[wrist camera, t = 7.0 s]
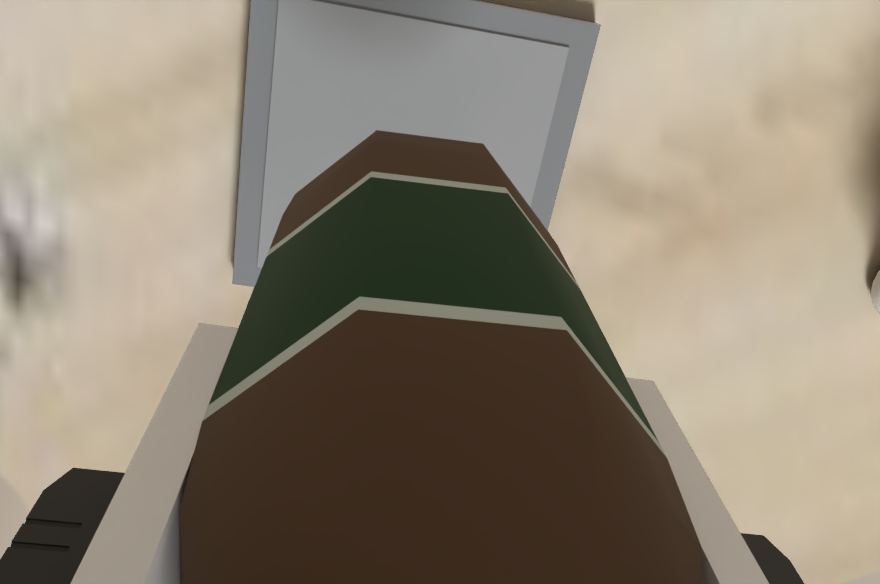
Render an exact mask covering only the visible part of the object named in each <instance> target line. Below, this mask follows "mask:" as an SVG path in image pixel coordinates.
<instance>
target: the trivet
mask: <svg viewBox="0 0 880 584" xmlns="http://www.w3.org/2000/svg"><path fill="white" fill-rule="evenodd" d="M600 26H601V25H600V24H598V23H595V22H590V21H585V20H580V19H574V18H569V17H564V16H558V15H553V14H548V13H543V12H537V11H532V10H527V9H522V8H516V7H511V6H506V5H501V4H495V3H490V2H485V1H479V0H251V6H250V21H249V37H248V52H247V67H246V83H245V98H244V113H243V129H242V144H241V159H240V175H239V190H238V205H237V221H236V236H235V251H234V267H233V282H232V284H237V285H245V286H252V287H255V285H256V282H257V279H258V277H259V274H260V272H261V269H262V267H263V264H264V261H265V259H266V256H267V254H268V251H269V249H270V246H271V244H272V241H273V238H274V236H275V233H276V231H277V228H278V226H279V223H280V221H281V218H282V215H283V213H284V212H285V210H286V208H287V207H288V205H289V203H290V202H291V200H292V198H293V196H294V195H295V194H296V193H297V192H298V191H299V190H301V189H302V188H303V187H305V186H306V185H307V184H308V183H310V182H311V181H312V180H314V179H315V178H316V177H317V176H319V175H320V174H321V173H322V172H324V171H325V170H326V169H328V168H329V167H330V166H331V165H333V164H334V163H335V162H337V161H338V160H339V159H340V158H342V157H343V156H344V155H346V154H347V153H348V152H349V151H351V150H352V149H353V148H355V147H356V146H357V145H358V144H360V143H361V142H362V141H364V140H365V139H366V138H367V137H369V136H370V135H371V134H372V133H374V132H375V131H376V130H380V131H387V132H395V133H403V134H411V135H419V136H427V137H435V138H443V139H451V140H458V141H466V142H474V143H482V144H484V145H485V147H486V148H487V149H488V151H489V152H490V153H491V155H492V156H493V157H494V159H495V160H496V162H497V163H498V164H499V166H500V167H501V168H502V170H503V171H504V172H505V174H506V175H507V176H508V178H509V179H510V180H511V182H512V183H513V184H514V186H515V187H516V189H517V190H518V191H519V193H520V194H521V195H522V197H523V198H524V199H525V201H526V202H527V203H528V205H529V206H530V207H531V209H532V210H533V212H534V213H535V214H536V216H537V217H538V218H539V220H540V221H541V222H542V224H543V225H544V227H545V228H546V230H547V231H548V227H549V223H550V219H551V215H552V211H553V207H554V203H555V200H556V196H557V192H558V188H559V184H560V180H561V176H562V173H563V169H564V165H565V161H566V157H567V153H568V149H569V145H570V142H571V138H572V134H573V130H574V126H575V122H576V118H577V115H578V111H579V107H580V103H581V99H582V95H583V91H584V88H585V84H586V80H587V76H588V72H589V68H590V64H591V60H592V57H593V53H594V49H595V45H596V41H597V37H598V33H599V30H600Z"/></svg>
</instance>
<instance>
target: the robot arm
mask: <svg viewBox="0 0 880 584" xmlns="http://www.w3.org/2000/svg"><path fill="white" fill-rule="evenodd" d="M237 331H238V328H233V327H225V326H217V325H209V324H202V323H199V325H198V327H197V329H196V331H195V333H194V335H193V337H192V339H191V341H190V343H189V345H188V347H187V349H186V351H185V353H184V355H183V357H182V359H181V361H180V363H179V365H178V367H177V369H176V371H175V373H174V375H173V377H172V379H171V381H170V383H169V385H168V387H167V389H166V391H165V393H164V396H163V398H162V400H161V402H160V404H159V406H158V408H157V410H156V412H155V414H154V416H153V418H152V420H151V422H150V424H149V426H148V428H147V430H146V432H145V434H144V436H143V438H142V440H141V442H140V444H139V446H138V448H137V450H136V452H135V454H134V456H133V458H132V460H131V462H130V464H129V466H128V468H127V470H126V472H125V473H119V472H109V471H99V470H89V469H79V468H72V469H71V470H70V471H68V472H67V473H66V474H64V475H63V476H62V477H61V478H59V479H58V480H57V481H55V482H54V483H53V484H51V485H50V486H49V487H47V488H46V489H45V490H44V491H43V492H42V494H41V495H40V497H39V499H38V500H37V502H36V503H35V505H34V507H33V508H32V510H31V511H30V513H29V515H28V516H27V518H26V522H25V524H22V526H21V527H20V529H19V531H18V532H17V534H16V535H15V537H14V539H13V540H12V544H11V547H8V548H7V550H6V551H5V553H4V555H3V556H2V558H1V559H0V584H180V537H179V510H180V506H181V502H182V498H183V494H184V490H185V486H186V483H187V479H188V475H189V471H190V467H191V463H192V459H193V455H194V451H195V447H196V443H197V439H198V435H199V432H200V428H201V424H202V420H203V418H204V415H205V413H206V410H207V407H208V405H209V402H210V400H211V397H212V395H213V392H214V390H215V387H216V384H217V382H218V379H219V377H220V374H221V372H222V369H223V367H224V364H225V361H226V359H227V356H228V354H229V351H230V349H231V346H232V343H233V341H234V338H235V336H236V333H237ZM626 379H627V381H628V383H629V385H630V387H631V389H632V391H633V393H634V395H635V397H636V399H637V401H638V403H639V405H640V406H641V408H642V410H643V412H644V414H645V416H646V418H647V420H648V422H649V424H650V426H651V428H652V430H653V432H654V434H655V436H656V437H657V439H658V441H659V443H660V445H661V447H662V449H663V451H664V453H665V455H666V457H667V459H668V461H669V464H670V467H671V469H672V472H673V474H674V477H675V480H676V482H677V485H678V487H679V490H680V493H681V495H682V498H683V500H684V503H685V505H686V508H687V511H688V513H689V516H690V518H691V521H692V524H693V526H694V529H695V531H696V534H697V537H698V539H699V542H700V544H701V551H702V584H804V583H803V581H802V579H801V578H800V576H799V574H798V573H797V571H796V570H795V568H794V566H793V565H792V563H791V562H790V560H789V559H788V558H787V557H786V556H784V555H783V554H782V553H781V552H780V551H779V550H778V549H777V548H776V547H775V546H774V545H773V544H772V543H771V542H770V541H769V540H768V539H767V538H765V537H764V536H762V535H753V534H743V533H740V532H739V530H738V528H737V526H736V525H735V523H734V521H733V519H732V518H731V516H730V514H729V512H728V511H727V509H726V507H725V505H724V504H723V502H722V500H721V498H720V497H719V495H718V493H717V491H716V490H715V488H714V486H713V484H712V483H711V481H710V479H709V477H708V476H707V474H706V472H705V470H704V469H703V467H702V465H701V463H700V462H699V460H698V458H697V456H696V455H695V453H694V451H693V449H692V448H691V446H690V444H689V442H688V441H687V439H686V437H685V435H684V434H683V432H682V430H681V428H680V427H679V425H678V423H677V421H676V420H675V418H674V416H673V414H672V413H671V411H670V409H669V407H668V406H667V404H666V402H665V400H664V399H663V397H662V395H661V393H660V392H659V390H658V388H657V386H656V385H655V383H654V381H650V380H642V379H634V378H626Z"/></svg>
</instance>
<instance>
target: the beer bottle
mask: <svg viewBox="0 0 880 584" xmlns="http://www.w3.org/2000/svg"><path fill="white" fill-rule="evenodd" d="M179 537H180V584H702V551H701V544H700V542H699V539H698V537H697V534H696V531H695V529H694V526H693V524H692V521H691V518H690V516H689V513H688V511H687V508H686V505H685V503H684V500H683V498H682V495H681V493H680V490H679V487H678V485H677V482H676V480H675V477H674V474H673V472H672V469H671V467H670V464H669V461H668V459H667V457H666V455H665V453H664V451H663V449H662V447H661V445H660V443H659V441H658V439H657V437H656V436H655V434H654V432H653V430H652V428H651V426H650V424H649V422H648V420H647V418H646V416H645V414H644V412H643V410H642V408H641V406H640V405H639V403H638V401H637V399H636V397H635V395H634V393H633V391H632V389H631V387H630V385H629V383H628V381H627V379H626V377H625V375H624V373H623V372H622V370H621V368H620V366H619V364H618V362H617V360H616V358H615V356H614V354H613V352H612V350H611V348H610V346H609V344H608V342H607V341H606V339H605V337H604V335H603V333H602V331H601V329H600V327H599V325H598V323H597V321H596V319H595V317H594V315H593V313H592V311H591V309H590V308H589V306H588V304H587V302H586V300H585V298H584V296H583V294H582V292H581V290H580V288H579V286H578V284H577V282H576V280H575V278H574V277H573V275H572V273H571V271H570V269H569V267H568V265H567V263H566V261H565V259H564V257H563V255H562V253H561V251H560V249H559V247H558V245H557V244H556V243H555V241H554V240H553V238H552V237H551V235H550V234H549V232H548V231H547V230H546V228H545V227H544V225H543V224H542V222H541V221H540V220H539V218H538V217H537V216H536V214H535V213H534V212H533V210H532V209H531V207H530V206H529V205H528V203H527V202H526V201H525V199H524V198H523V197H522V195H521V194H520V193H519V191H518V190H517V189H516V187H515V186H514V184H513V183H512V182H511V180H510V179H509V178H508V176H507V175H506V174H505V172H504V171H503V170H502V168H501V167H500V166H499V164H498V163H497V162H496V160H495V159H494V157H493V156H492V155H491V153H490V152H489V151H488V149H487V148H486V147H485V145H484V144H482V143H474V142H466V141H458V140H451V139H443V138H435V137H427V136H419V135H411V134H403V133H395V132H387V131H380V130H376V131H375V132H374V133H372V134H371V135H370V136H369V137H367V138H366V139H365V140H364V141H362V142H361V143H360V144H358V145H357V146H356V147H355V148H353V149H352V150H351V151H349V152H348V153H347V154H346V155H344V156H343V157H342V158H340V159H339V160H338V161H337V162H335V163H334V164H333V165H331V166H330V167H329V168H328V169H326V170H325V171H324V172H322V173H321V174H320V175H319V176H317V177H316V178H315V179H314V180H312V181H311V182H310V183H308V184H307V185H306V186H305V187H303V188H302V189H301V190H299V191H298V192H297V193H296V194H295V195H294V196H293V198H292V200H291V202H290V203H289V205H288V207H287V208H286V210H285V212H284V213H283V215H282V218H281V221H280V223H279V226H278V228H277V231H276V233H275V236H274V238H273V241H272V244H271V246H270V249H269V251H268V254H267V256H266V259H265V261H264V264H263V267H262V269H261V272H260V274H259V277H258V279H257V282H256V285H255V287H254V290H253V292H252V295H251V297H250V300H249V302H248V305H247V308H246V310H245V313H244V315H243V318H242V320H241V323H240V326H239V328H238V331H237V333H236V336H235V338H234V341H233V343H232V346H231V349H230V351H229V354H228V356H227V359H226V361H225V364H224V367H223V369H222V372H221V374H220V377H219V379H218V382H217V384H216V387H215V390H214V392H213V395H212V397H211V400H210V402H209V405H208V407H207V410H206V413H205V415H204V418H203V420H202V424H201V428H200V432H199V435H198V439H197V443H196V447H195V451H194V455H193V459H192V463H191V467H190V471H189V475H188V479H187V483H186V486H185V490H184V494H183V498H182V502H181V506H180V510H179Z"/></svg>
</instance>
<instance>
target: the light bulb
mask: <svg viewBox="0 0 880 584" xmlns="http://www.w3.org/2000/svg"><path fill="white" fill-rule="evenodd" d="M871 297H872V302H873V305H874V307H875V308H876V310H877V311H878V312H879V313H880V270H879V272H878V273H877V275H876V277H875V279H874V281H873V284H872V288H871Z"/></svg>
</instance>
